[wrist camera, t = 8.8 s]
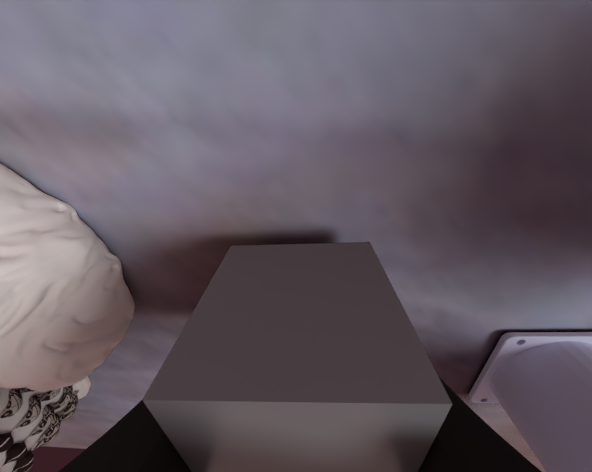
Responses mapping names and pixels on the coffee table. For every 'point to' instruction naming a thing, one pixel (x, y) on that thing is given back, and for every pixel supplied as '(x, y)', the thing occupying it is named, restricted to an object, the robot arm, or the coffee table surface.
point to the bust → (54, 291)
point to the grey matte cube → (299, 368)
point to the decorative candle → (33, 421)
